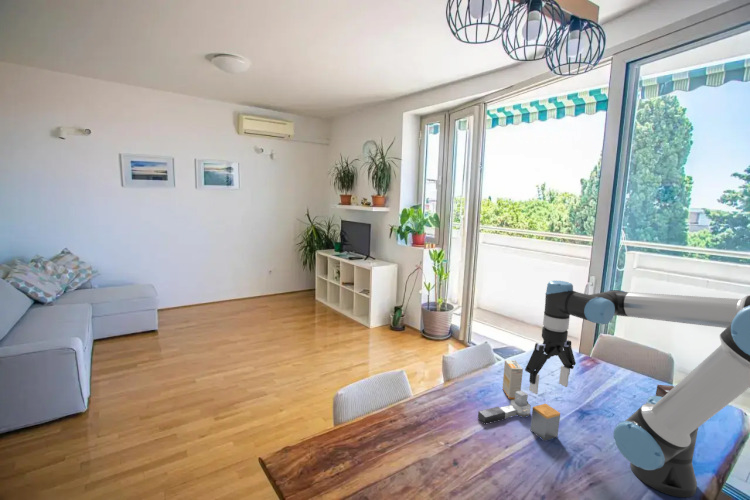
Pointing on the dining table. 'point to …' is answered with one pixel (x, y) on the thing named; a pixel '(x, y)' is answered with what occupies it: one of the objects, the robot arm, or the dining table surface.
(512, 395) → the supplement box
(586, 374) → the dining table surface
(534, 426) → the grey orange-topped block
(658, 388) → the box
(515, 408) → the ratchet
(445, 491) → the dining table surface
